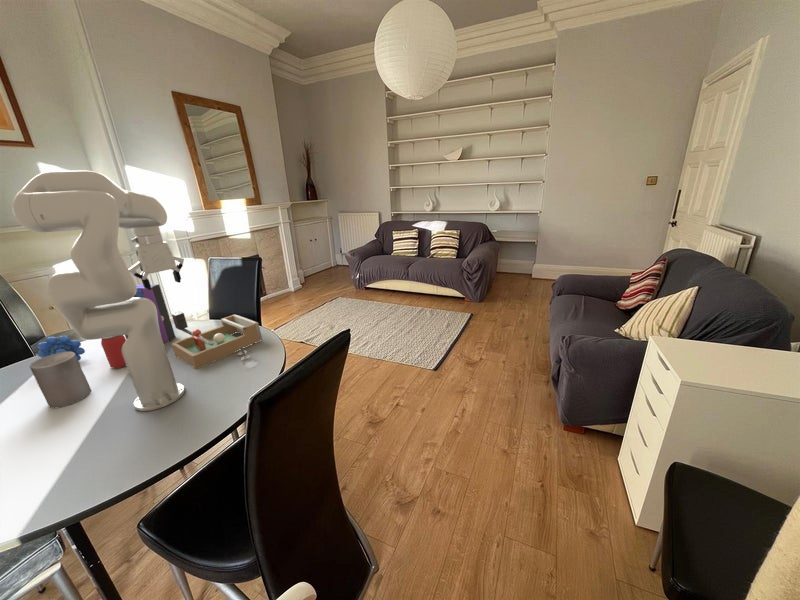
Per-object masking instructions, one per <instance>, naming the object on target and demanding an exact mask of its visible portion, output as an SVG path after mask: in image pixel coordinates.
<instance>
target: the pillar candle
mask: <svg viewBox="0 0 800 600" xmlns="http://www.w3.org/2000/svg"><path fill="white" fill-rule="evenodd" d="M29 369H30V371H31V373H32V374H33V377H34V379H35V381H36V383H37V385H38V387H39V390H40V391H41V393H42V395H43V397H44V398H45V399H44V400H45V401H46V403H47V405H48V407H49V406H50V407H49V408H51V407H54V408H53V409H56V408H55V407H59V408H63V406H64V407H67V406H71V405H73V404H76V403H79V402H80V401H81V400H83V399H85V398H86V397H87V395H88V396H89V395H90V394H91V393H90V392H92V389H91V387H90V385H89V382H88V380H87V377H86V375H85V374H84V372H83V369H82V366H81V364H80V361H78V360H77V357H76V355H75V353H74V352H61V353H56V354H52V355H49V356H46V357H43V358H41V357H40V358H39V359H37V360H35V361H33V362H31V364H30V365H29ZM89 393H90V394H89Z"/></svg>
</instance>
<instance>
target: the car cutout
mask: <svg viewBox="0 0 800 600" xmlns="http://www.w3.org/2000/svg"><path fill="white" fill-rule="evenodd" d="M245 352H247V353H248V351H247V350H244V349H243V348H242V346H241V350H240V351H238V353H237V356H238V355H240V354H243V355H244V356H243V355H242V356H241V355H240V357H241V358H240V359H241V360H242V359H245V358H247V357H251V355H250V354H247V355H246V354H245ZM245 360H246V359H245ZM242 361H243V360H242Z"/></svg>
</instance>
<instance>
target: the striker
mask: <svg viewBox="0 0 800 600" xmlns="http://www.w3.org/2000/svg"><path fill="white" fill-rule="evenodd" d="M171 317H172V320H173V324H174V326H175V329H177V330H179V331H182V332H183V333H186V334H188V335H190V337H192V336H193V338H194V341H195V345H196V348H197V349H198V350H200V351H202V350H205V349H206V347H205V343H207V344H209V345H211V346H212V345H213V344H214V343H213V342H211V341H209V340H207V339H205V338H203V337H202V336H200V334H201V333H202V331H201V330H200V329H198V328H197V329H196V328H195V329H194V330H193V331H191V330H189V329H187V328H189V327H188V323H187V320H186V317H185V313H184V312H182V311H177V312H173V313H171ZM204 342H205V343H204Z"/></svg>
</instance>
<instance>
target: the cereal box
mask: <svg viewBox="0 0 800 600" xmlns="http://www.w3.org/2000/svg"><path fill="white" fill-rule="evenodd" d="M150 285H151V288H152V289H151V290H148V289H146V288H144V286H143V284H140V285H139V284H136V288H137V291H136V294H135V296H134V297H141V298H147V299H149V300H151V301H152V302H153V303H154V304H155V306H156V309H157V315H158V323H159V329H160V333H161V337H162V340H163V343H169V342H170V340H171V339H172V340H174V339H175V338H176V334H175V331H174V328H173V325H172V322H171V318H170V315H169V312H168V309H167V305H166V302H165V300H164V296H163V293H162V290H161V286H160V284H150ZM134 297H133V298H134ZM124 337H125V339H126V340H127V338H128V335H124ZM174 337H175V338H174ZM173 338H174V339H173ZM172 340H171V341H172ZM168 341H169V342H168Z"/></svg>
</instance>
